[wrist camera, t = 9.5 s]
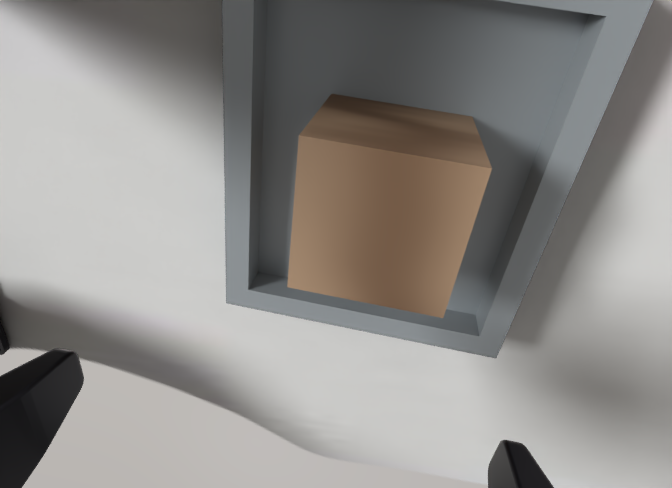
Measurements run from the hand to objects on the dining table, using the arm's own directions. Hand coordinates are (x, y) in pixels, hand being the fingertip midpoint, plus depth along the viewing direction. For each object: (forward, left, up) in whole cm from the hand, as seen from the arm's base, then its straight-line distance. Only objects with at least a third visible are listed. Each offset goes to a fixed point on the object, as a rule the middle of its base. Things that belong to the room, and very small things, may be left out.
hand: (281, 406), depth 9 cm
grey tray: (+1, +2, -11) cm, 11 cm away
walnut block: (+1, +2, -10) cm, 10 cm away
